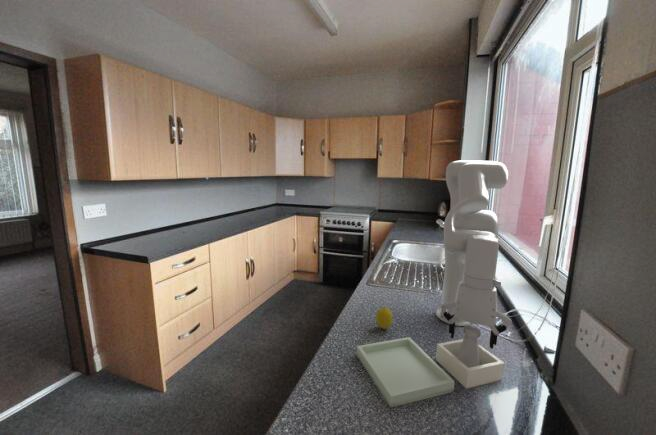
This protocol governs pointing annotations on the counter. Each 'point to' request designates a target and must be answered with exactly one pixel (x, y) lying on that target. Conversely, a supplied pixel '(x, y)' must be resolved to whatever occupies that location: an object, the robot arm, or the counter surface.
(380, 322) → the lemon
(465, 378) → the square frame
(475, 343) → the salt shaker
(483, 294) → the robot arm
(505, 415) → the counter surface
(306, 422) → the counter surface
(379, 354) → the tray
